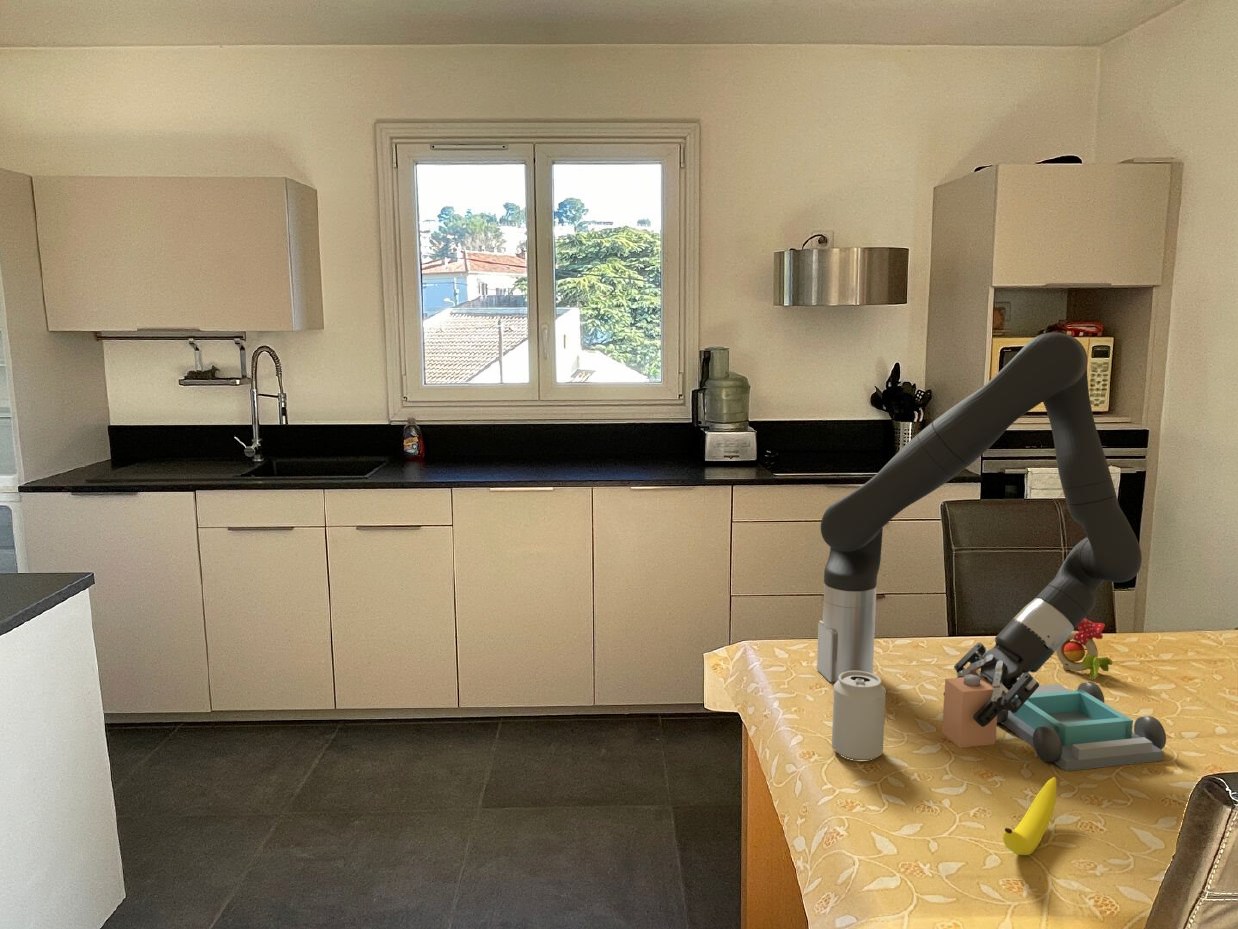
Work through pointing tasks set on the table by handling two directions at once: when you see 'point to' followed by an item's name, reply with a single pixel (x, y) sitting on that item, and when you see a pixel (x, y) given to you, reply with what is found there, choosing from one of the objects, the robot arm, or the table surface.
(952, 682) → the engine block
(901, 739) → the table surface
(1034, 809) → the banana
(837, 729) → the can
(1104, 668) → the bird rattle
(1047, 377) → the robot arm
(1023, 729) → the chassis
